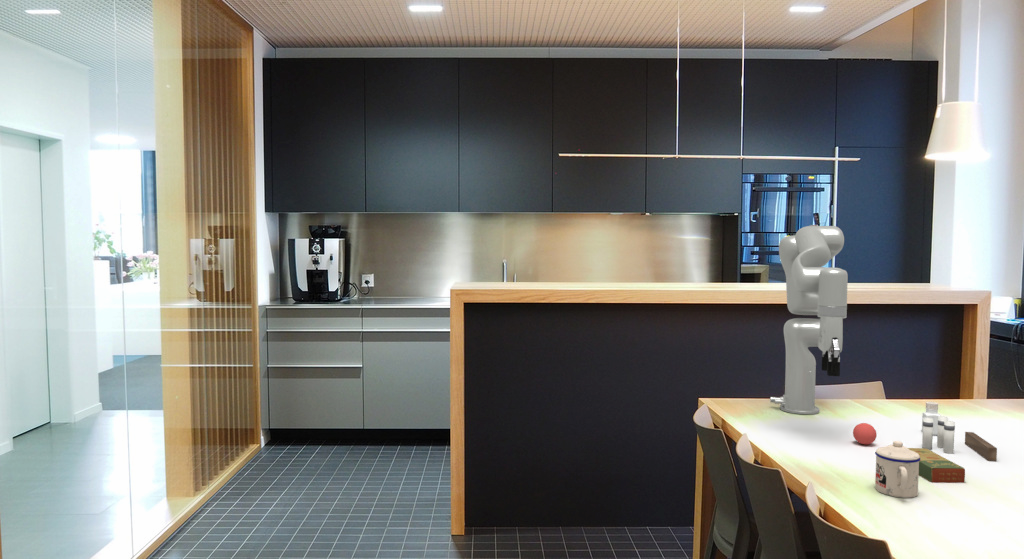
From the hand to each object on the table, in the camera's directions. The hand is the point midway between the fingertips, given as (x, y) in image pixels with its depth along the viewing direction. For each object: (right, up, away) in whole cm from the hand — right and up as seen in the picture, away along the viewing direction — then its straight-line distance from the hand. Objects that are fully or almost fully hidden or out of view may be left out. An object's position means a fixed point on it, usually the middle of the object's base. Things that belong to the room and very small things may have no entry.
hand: (830, 372), depth 199 cm
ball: (+9, -17, -2) cm, 20 cm away
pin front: (+25, -20, -5) cm, 32 cm away
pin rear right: (+28, -21, -9) cm, 36 cm away
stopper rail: (+37, -21, -9) cm, 43 cm away
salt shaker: (+35, -20, +10) cm, 41 cm away
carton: (+13, -22, -25) cm, 36 cm away
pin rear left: (+30, -20, -4) cm, 36 cm away
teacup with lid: (-3, -22, -40) cm, 46 cm away
